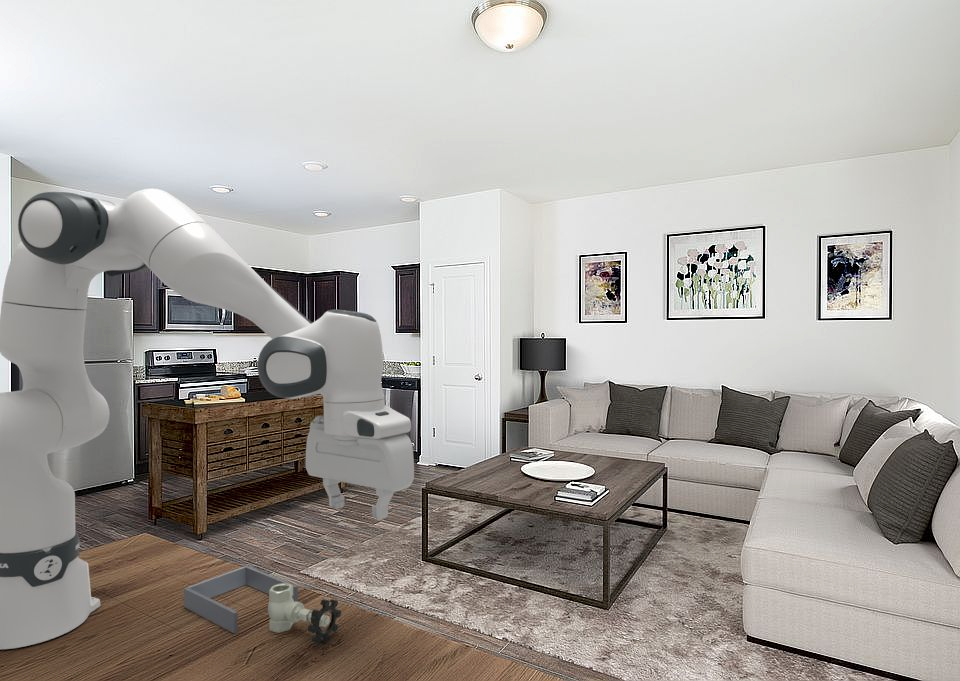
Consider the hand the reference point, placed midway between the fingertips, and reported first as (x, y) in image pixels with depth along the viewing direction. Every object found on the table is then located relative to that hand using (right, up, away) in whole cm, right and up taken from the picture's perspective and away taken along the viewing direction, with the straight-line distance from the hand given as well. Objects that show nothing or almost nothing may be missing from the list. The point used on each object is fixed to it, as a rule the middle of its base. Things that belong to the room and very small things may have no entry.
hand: (357, 512), depth 86 cm
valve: (-11, -22, +7) cm, 26 cm away
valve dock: (-24, -21, +16) cm, 36 cm away
